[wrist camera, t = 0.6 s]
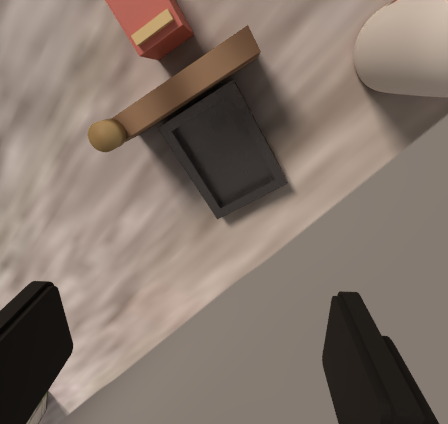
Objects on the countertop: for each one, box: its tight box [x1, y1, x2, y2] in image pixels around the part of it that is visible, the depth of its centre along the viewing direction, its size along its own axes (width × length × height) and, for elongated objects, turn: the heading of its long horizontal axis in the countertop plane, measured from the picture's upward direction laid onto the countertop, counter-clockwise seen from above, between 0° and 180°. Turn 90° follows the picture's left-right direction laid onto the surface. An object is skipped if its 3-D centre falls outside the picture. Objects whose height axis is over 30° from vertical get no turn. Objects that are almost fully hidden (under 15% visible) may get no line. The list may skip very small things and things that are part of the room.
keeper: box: [159, 80, 288, 219], centre depth 33 cm, size 9×12×2 cm
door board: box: [88, 25, 261, 152], centre depth 27 cm, size 15×2×10 cm, turn 120°
